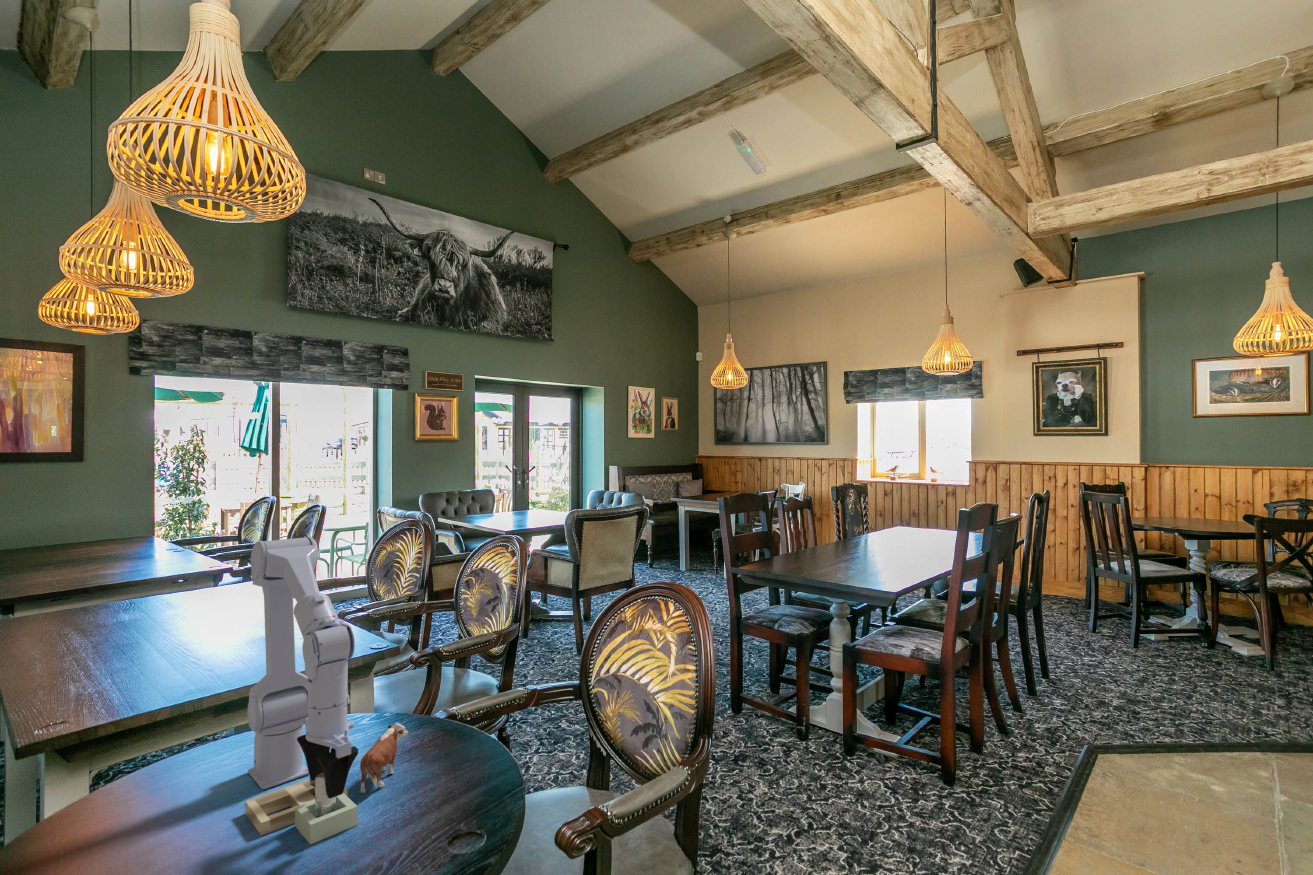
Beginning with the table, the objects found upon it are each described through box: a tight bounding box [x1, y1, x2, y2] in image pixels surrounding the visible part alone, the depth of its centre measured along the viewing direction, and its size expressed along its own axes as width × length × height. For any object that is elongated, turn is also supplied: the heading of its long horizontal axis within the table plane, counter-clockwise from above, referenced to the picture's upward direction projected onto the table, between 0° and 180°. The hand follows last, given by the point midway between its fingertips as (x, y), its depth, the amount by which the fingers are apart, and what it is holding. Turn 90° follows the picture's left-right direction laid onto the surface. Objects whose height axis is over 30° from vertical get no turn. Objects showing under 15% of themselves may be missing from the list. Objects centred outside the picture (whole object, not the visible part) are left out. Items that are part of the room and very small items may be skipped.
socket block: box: [244, 778, 348, 836], centre depth 107 cm, size 9×13×2 cm
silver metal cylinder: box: [315, 773, 336, 818], centre depth 102 cm, size 3×3×8 cm
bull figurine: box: [359, 722, 409, 794], centre depth 117 cm, size 4×13×8 cm, turn 174°
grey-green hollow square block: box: [294, 793, 358, 845], centre depth 102 cm, size 7×7×3 cm
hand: (326, 786), depth 102 cm, fingers open, 7 cm apart
